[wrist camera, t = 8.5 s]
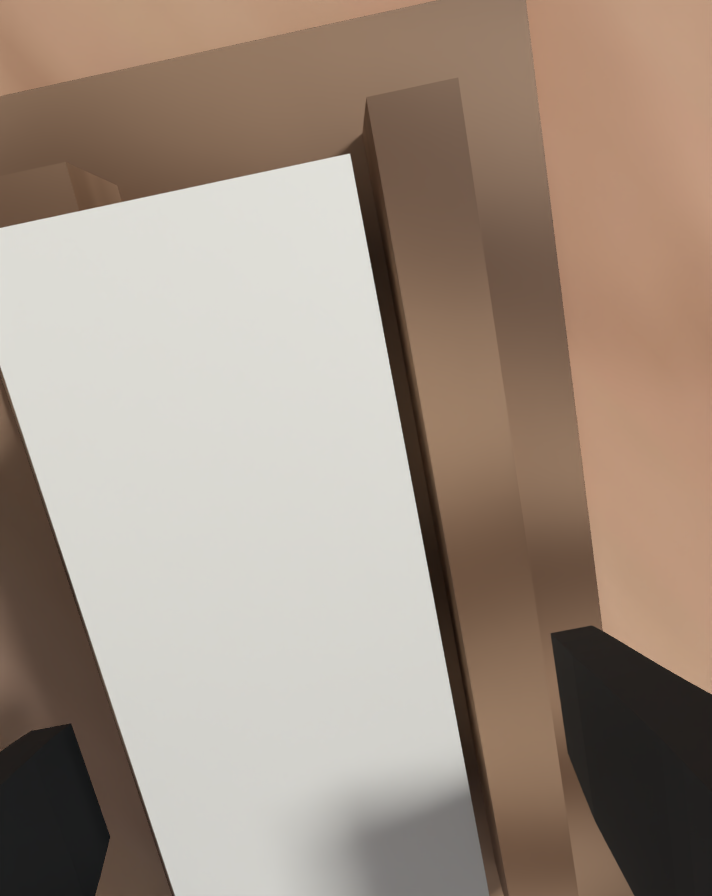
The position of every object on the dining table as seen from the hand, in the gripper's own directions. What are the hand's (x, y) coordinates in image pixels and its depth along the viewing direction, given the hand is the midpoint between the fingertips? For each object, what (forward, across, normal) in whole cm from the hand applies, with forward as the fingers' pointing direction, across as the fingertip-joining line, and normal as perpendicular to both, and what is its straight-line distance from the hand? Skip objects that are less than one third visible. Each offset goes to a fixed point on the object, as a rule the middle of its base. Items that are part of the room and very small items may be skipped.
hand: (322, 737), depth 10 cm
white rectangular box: (+6, 0, 0) cm, 6 cm away
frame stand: (+6, 0, 0) cm, 6 cm away
